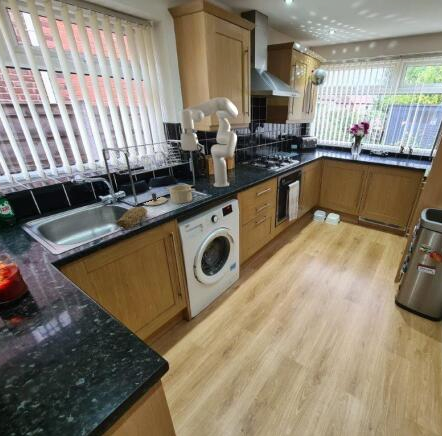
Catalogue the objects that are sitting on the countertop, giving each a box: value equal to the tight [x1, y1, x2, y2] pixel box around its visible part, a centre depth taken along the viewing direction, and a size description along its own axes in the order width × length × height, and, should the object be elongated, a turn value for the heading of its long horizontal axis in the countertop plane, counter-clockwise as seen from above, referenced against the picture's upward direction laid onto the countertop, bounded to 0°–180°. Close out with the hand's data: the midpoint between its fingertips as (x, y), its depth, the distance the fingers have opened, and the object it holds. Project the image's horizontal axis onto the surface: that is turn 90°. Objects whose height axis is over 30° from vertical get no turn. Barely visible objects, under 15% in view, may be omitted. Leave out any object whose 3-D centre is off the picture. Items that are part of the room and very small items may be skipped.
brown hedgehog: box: [115, 206, 148, 230], centre depth 132 cm, size 13×8×20 cm
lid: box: [142, 192, 168, 206], centre depth 160 cm, size 15×15×6 cm
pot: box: [165, 184, 196, 204], centre depth 163 cm, size 14×19×8 cm
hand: (191, 159), depth 159 cm, fingers open, 9 cm apart
